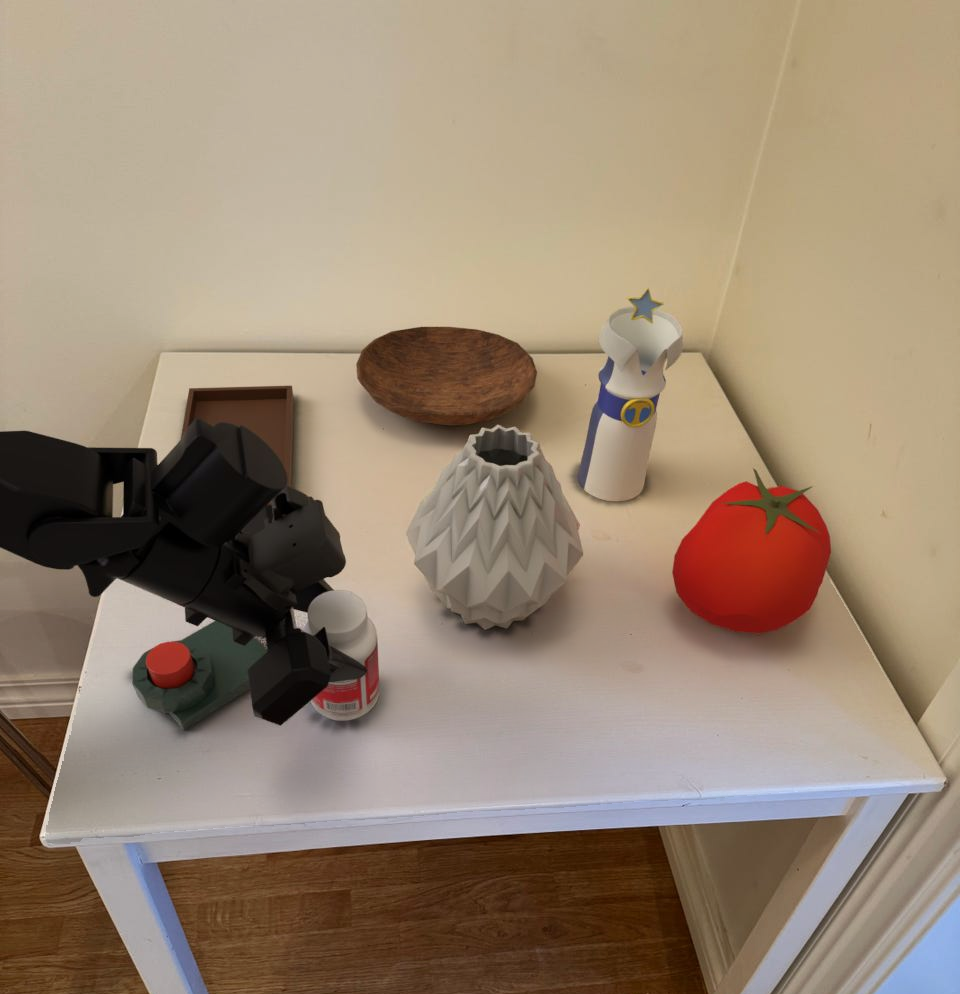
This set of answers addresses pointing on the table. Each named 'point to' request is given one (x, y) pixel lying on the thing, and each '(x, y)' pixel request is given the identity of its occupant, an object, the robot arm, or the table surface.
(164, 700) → the block
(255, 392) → the brown rectangular tray
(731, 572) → the tomato
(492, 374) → the bowl
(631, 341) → the white toy figure
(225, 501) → the robot arm
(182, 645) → the button
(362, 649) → the pill bottle
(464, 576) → the vase
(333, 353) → the table surface
